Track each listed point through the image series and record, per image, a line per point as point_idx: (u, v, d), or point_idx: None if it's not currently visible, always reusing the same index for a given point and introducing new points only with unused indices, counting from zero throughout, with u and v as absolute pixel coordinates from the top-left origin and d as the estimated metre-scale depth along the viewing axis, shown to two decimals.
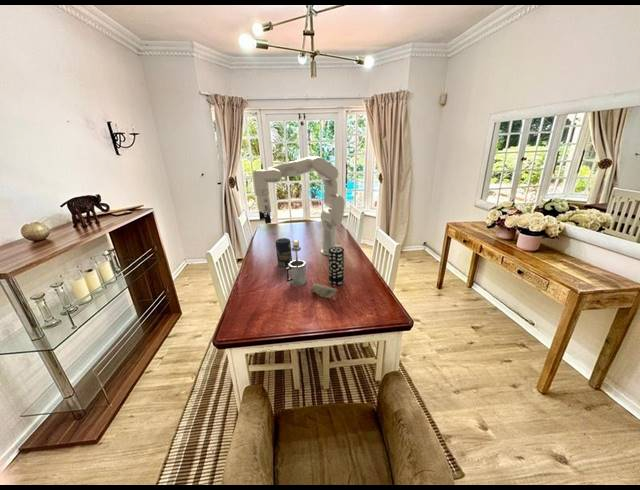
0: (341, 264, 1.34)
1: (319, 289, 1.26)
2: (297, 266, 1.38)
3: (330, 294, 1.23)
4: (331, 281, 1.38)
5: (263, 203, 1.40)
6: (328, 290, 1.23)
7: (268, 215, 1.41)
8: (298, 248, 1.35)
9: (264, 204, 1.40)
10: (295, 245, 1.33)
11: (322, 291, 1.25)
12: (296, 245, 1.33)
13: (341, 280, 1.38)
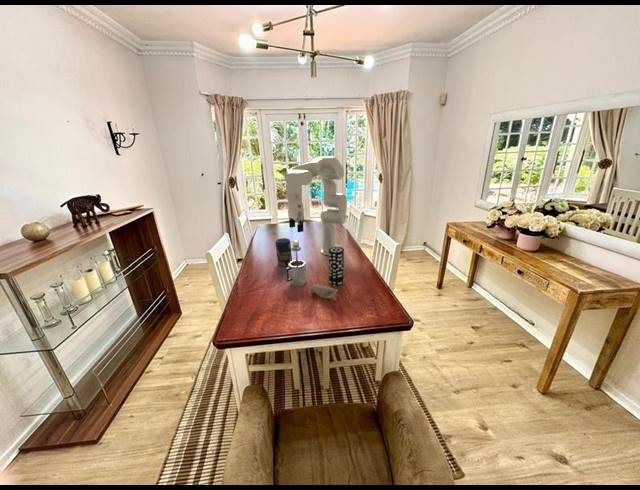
0: (341, 264, 1.34)
1: (319, 290, 1.26)
2: (297, 266, 1.38)
3: (330, 295, 1.22)
4: (331, 281, 1.38)
5: (296, 209, 1.24)
6: (328, 291, 1.23)
7: (301, 223, 1.25)
8: (298, 248, 1.35)
9: (297, 210, 1.24)
10: (295, 245, 1.33)
11: (323, 292, 1.24)
12: (296, 245, 1.33)
13: (341, 280, 1.38)
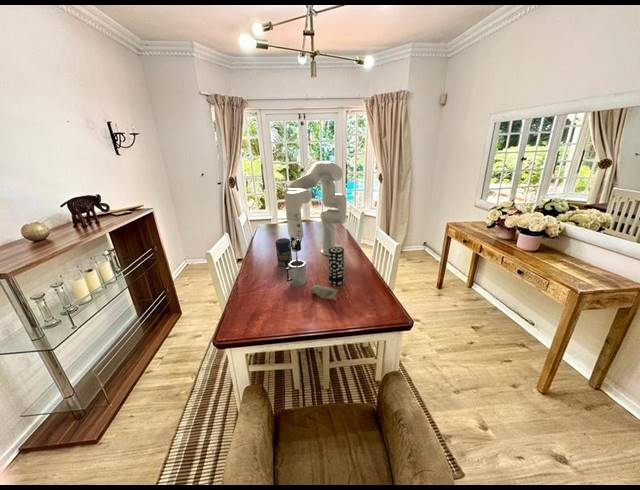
0: (341, 264, 1.34)
1: (319, 290, 1.25)
2: (297, 266, 1.38)
3: (331, 295, 1.22)
4: (331, 281, 1.38)
5: (296, 228, 1.26)
6: (329, 291, 1.22)
7: (299, 242, 1.30)
8: None
9: (297, 229, 1.26)
10: None
11: (323, 292, 1.24)
12: None
13: (341, 280, 1.38)
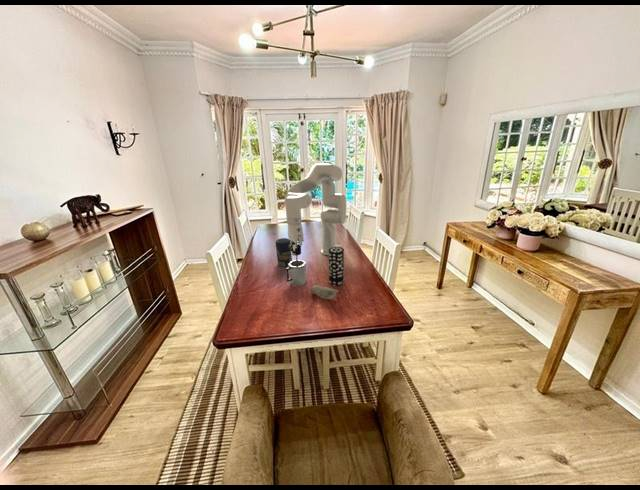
0: (341, 264, 1.34)
1: (320, 291, 1.25)
2: None
3: (331, 295, 1.22)
4: (331, 281, 1.38)
5: (296, 233, 1.27)
6: (329, 291, 1.22)
7: (299, 246, 1.30)
8: None
9: (297, 234, 1.27)
10: None
11: (323, 292, 1.23)
12: None
13: (341, 280, 1.38)
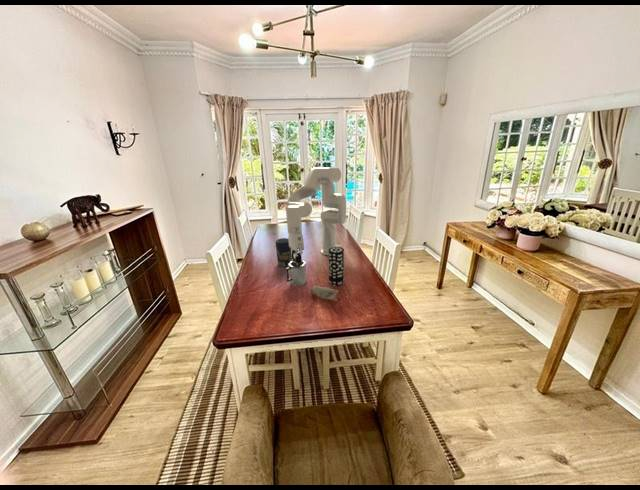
0: (341, 264, 1.34)
1: (320, 291, 1.25)
2: None
3: (332, 295, 1.21)
4: (331, 281, 1.38)
5: (296, 241, 1.28)
6: (329, 292, 1.22)
7: (300, 254, 1.32)
8: None
9: (297, 242, 1.29)
10: None
11: (323, 293, 1.23)
12: None
13: (341, 280, 1.38)
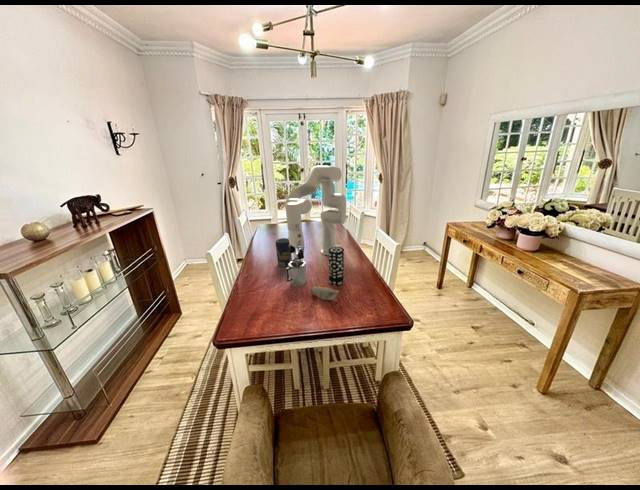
0: (341, 264, 1.34)
1: (320, 291, 1.24)
2: None
3: (332, 296, 1.21)
4: (331, 281, 1.38)
5: (297, 238, 1.28)
6: (330, 292, 1.21)
7: (302, 251, 1.30)
8: (299, 260, 1.38)
9: (298, 239, 1.28)
10: (296, 257, 1.35)
11: (324, 293, 1.23)
12: (297, 257, 1.35)
13: (341, 280, 1.38)
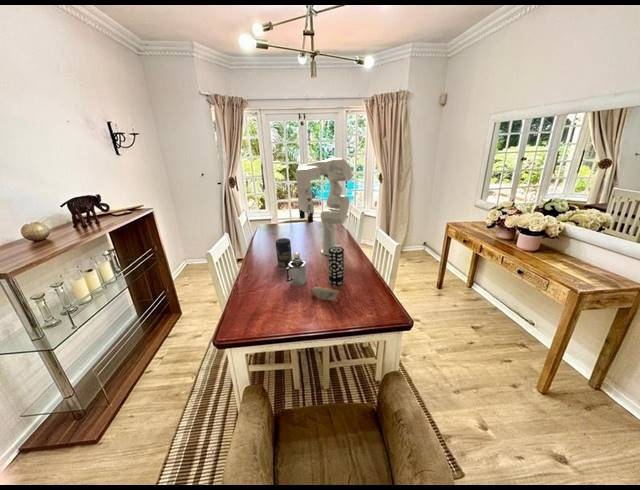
0: (341, 264, 1.34)
1: (320, 292, 1.24)
2: None
3: (333, 296, 1.21)
4: (331, 281, 1.38)
5: (306, 202, 1.37)
6: (330, 292, 1.21)
7: (311, 214, 1.39)
8: (299, 260, 1.38)
9: (307, 203, 1.37)
10: (296, 257, 1.35)
11: (324, 294, 1.22)
12: (297, 257, 1.35)
13: (341, 280, 1.38)
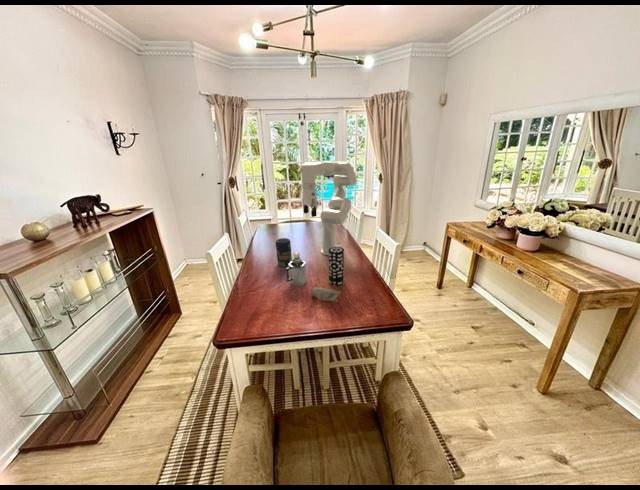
0: (341, 264, 1.34)
1: (321, 293, 1.23)
2: None
3: (333, 297, 1.20)
4: (331, 281, 1.38)
5: (311, 196, 1.43)
6: (331, 293, 1.21)
7: (315, 208, 1.44)
8: (299, 260, 1.38)
9: (311, 197, 1.43)
10: (296, 257, 1.35)
11: (325, 294, 1.22)
12: (297, 257, 1.35)
13: (341, 280, 1.38)
